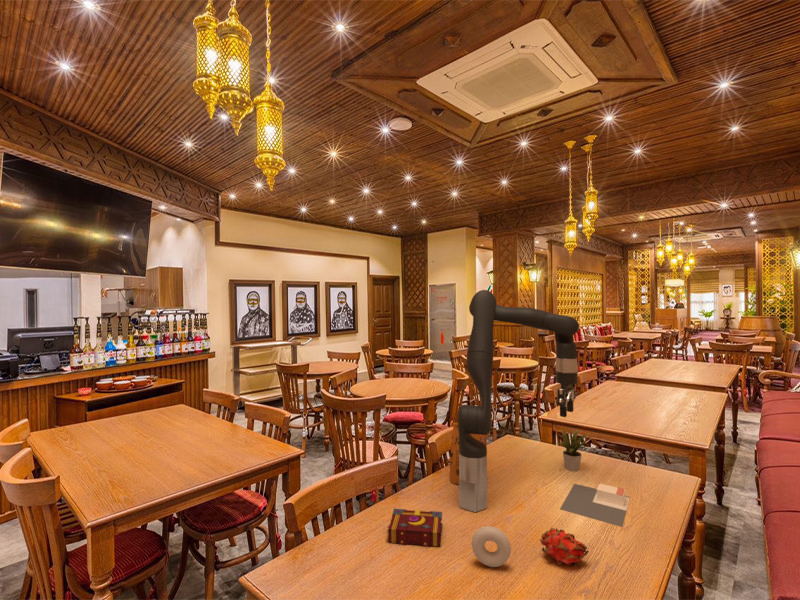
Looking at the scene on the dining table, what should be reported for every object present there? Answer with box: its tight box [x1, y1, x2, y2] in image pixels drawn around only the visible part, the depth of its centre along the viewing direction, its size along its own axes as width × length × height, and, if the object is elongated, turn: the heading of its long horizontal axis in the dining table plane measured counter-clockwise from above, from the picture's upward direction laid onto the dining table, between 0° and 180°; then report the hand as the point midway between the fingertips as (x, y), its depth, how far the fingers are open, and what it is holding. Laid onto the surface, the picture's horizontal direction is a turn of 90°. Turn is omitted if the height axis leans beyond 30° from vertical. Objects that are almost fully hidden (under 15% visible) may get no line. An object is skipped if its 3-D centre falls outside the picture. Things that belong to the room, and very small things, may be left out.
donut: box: [471, 525, 512, 568], centre depth 105 cm, size 10×4×10 cm, turn 75°
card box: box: [596, 483, 627, 507], centre depth 137 cm, size 8×6×4 cm
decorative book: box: [386, 508, 443, 548], centre depth 119 cm, size 11×16×5 cm
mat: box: [559, 483, 631, 528], centre depth 135 cm, size 22×18×1 cm
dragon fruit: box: [540, 527, 589, 567], centre depth 106 cm, size 8×8×12 cm
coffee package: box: [449, 422, 482, 485], centre depth 154 cm, size 10×12×22 cm
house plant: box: [556, 427, 590, 472], centre depth 162 cm, size 14×14×16 cm
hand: (566, 414), depth 149 cm, fingers open, 8 cm apart
